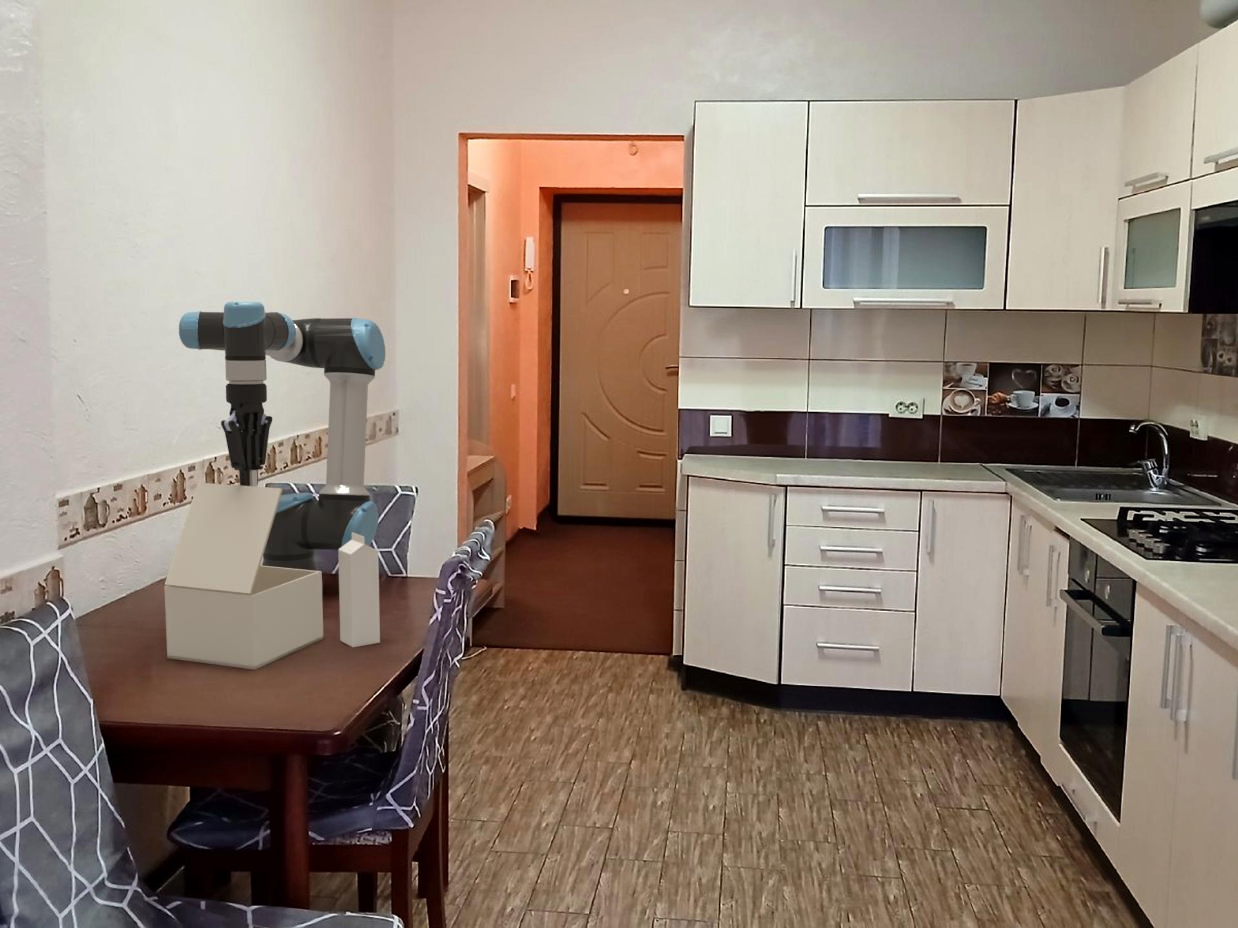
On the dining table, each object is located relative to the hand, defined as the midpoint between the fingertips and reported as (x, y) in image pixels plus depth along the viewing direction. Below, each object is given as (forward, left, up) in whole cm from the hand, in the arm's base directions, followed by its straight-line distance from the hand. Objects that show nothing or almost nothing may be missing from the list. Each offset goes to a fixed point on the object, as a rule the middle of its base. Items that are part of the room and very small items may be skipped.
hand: (249, 503), depth 227 cm
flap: (+8, 0, -5) cm, 9 cm away
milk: (-10, +18, -29) cm, 35 cm away
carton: (+2, 0, -29) cm, 29 cm away
